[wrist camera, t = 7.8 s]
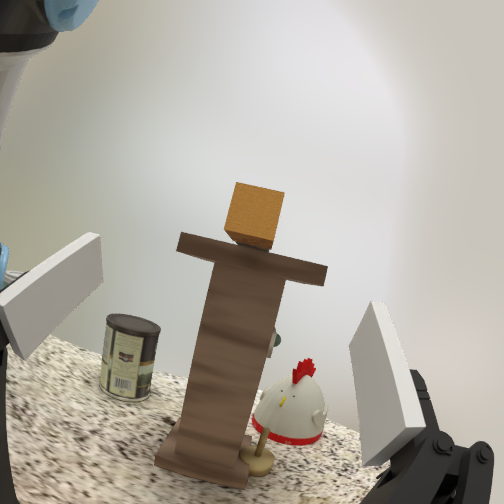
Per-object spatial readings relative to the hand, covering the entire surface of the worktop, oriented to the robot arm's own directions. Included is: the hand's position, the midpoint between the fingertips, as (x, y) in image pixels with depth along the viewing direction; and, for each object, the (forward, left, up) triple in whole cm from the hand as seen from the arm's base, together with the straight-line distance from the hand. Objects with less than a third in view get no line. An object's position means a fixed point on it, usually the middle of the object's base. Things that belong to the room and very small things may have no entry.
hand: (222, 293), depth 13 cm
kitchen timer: (-1, +40, -27) cm, 48 cm away
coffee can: (-30, +26, -27) cm, 48 cm away
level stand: (-8, +21, -26) cm, 35 cm away
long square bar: (-6, +17, +4) cm, 18 cm away
